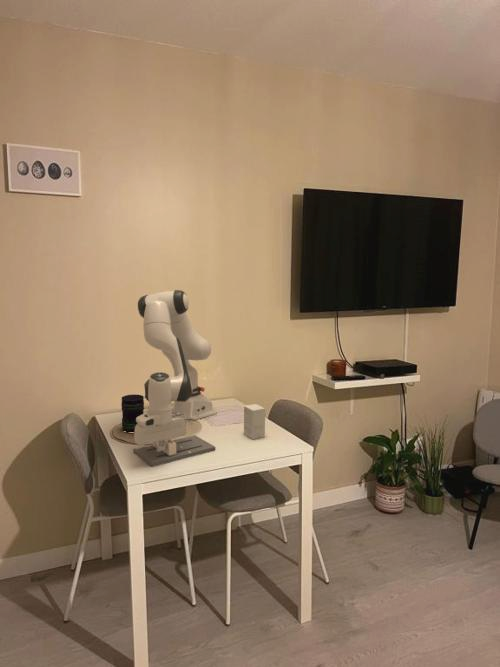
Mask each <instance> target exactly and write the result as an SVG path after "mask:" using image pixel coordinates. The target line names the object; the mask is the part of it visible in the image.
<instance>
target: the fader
mask: <svg viewBox="0 0 500 667" xmlns="http://www.w3.org/2000/svg"><path fill="white" fill-rule="evenodd" d="M163 452H165V453H166V454H167V455H169V456H170V455H174V454H176V442H174V441H173V439H172V438H171V439H168V443H167V445H166V446H165V451H163Z"/></svg>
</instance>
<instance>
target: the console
mask: <svg viewBox="0 0 500 667" xmlns="http://www.w3.org/2000/svg"><path fill="white" fill-rule="evenodd" d="M172 441H174V442H176V454H174V455H170V456H169V455H167V454H166V453H165V452H163V451H161V452H157V448H155V447H154V446H153V444H152V445H147V446H144V447H143V446H142V447H140V448H139V447H138V448H134V449H133V454H134V455H135V456H137V457H138V458H140V459H141V460H142V461H143V462H145V463H146V464H147V465H148V466H150V467H152V468H153V467H157V466H160V465H164V464H168V463H172V462H176V461H179V460H185V459H188V458H191V457H195V456H199V455H203V454H206V453H210V452H215V451H216V446H215V445H213V444H212V443H210V442H208V441H206V440H205V439H202V438H201V437H199V436H197V435H191V436H186V437H183V438H182V437H181V438H178V439H174V440H173V439H172Z"/></svg>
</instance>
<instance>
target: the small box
mask: <svg viewBox="0 0 500 667" xmlns="http://www.w3.org/2000/svg"><path fill="white" fill-rule="evenodd" d="M265 432H266V408H264V407H263V406H261V405H259V404H256V403H253V404H248V405H247V404H246V405H244V406H243V435H245V436H246V437H248V438H250V439H251V440H257V439H258V440H259V439H263V438H265V437H266V433H265Z"/></svg>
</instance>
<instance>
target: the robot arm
mask: <svg viewBox="0 0 500 667" xmlns="http://www.w3.org/2000/svg"><path fill="white" fill-rule="evenodd" d="M189 305H190V304H189V298H188V295H187V293H186V292H185V291H184V290H179V289H175V290H165V291H160V292H155V293H151V294H146V295H142V296H141V297H139V299H138V300H137V310H138V314H139V316H140V317H141V318H142V319H143V337H144V340H145V342H146V343H147V344H148V345H149V346H151V347H152V348H154V349H157V350H160V351H161V352H162V354H163V355H164V356H165V357H166V358H167V359H168V360H169V362H170V364H171V366H172V370H173V373H174V374H173V375H174V376H171V375H169V374H168V373H166V372H155V373H152V374H150V375H149V377H148V378H149V379H147V380H146V381H145V383H144V384H143V385H144V399H145V400H146V401H148V402H149V405H148V408H147V411H145V412H143V413H144V414H142V415H140V416H138V417H137V418H136V422H137V423H138V424H137V425H136V426H135V431H134V433H133V441H134V442H135V444H137V445H138V446H143V445H144V446H145V445H149V444H153V442H154V444H155V446H156V447H157V452H161V451H165V446H166V445H167V443H168V439H171V440H172V439H175V438H178V437H179V438H180V437H184V436H185V435H186V432H187V427H186V423H185V421H186V420H193V421H197V420H200V419H203V418H207V417H210V416H213V415H216V414H218V411H217V409H216V408H214V407H213V404H212V403H213V402H212V400H211V399H209V397H207V396H205V395H204V394H203V393H202V392H205V390H206V389H205V387H203V386H198V384H199V382H198V381H199V380H198V377H199V376H198V375H199V374H198V371H197V368H195V367H194V366H192V365H191V363H190V361H204V360H207V359H208V358H209V357H210V355H211V354H212V346H211V343H210V341H209V340H207V339H206V338H204V337H203V336H201V335H200V334H199V333H198V332H197V331H196V330H195V329H194V327H193V326H192V324H191V322H190V319H189V317H188V314H187V311H188V309H189ZM172 402H173V405H172ZM159 441H163V443H162V445H161V446H159V445H158V444H159Z"/></svg>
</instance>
